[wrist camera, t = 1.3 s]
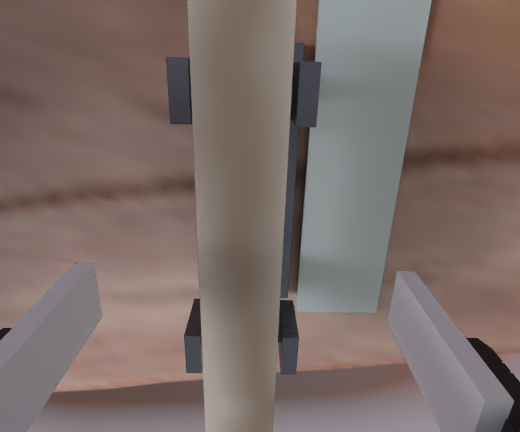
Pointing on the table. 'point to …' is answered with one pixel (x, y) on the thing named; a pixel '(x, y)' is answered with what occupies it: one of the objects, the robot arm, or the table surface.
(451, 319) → the robot arm
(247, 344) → the rail
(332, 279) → the mat
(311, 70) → the rack
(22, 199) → the table surface
